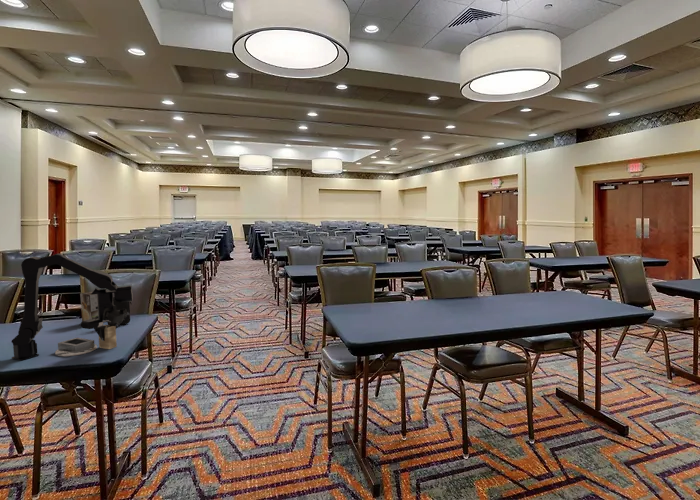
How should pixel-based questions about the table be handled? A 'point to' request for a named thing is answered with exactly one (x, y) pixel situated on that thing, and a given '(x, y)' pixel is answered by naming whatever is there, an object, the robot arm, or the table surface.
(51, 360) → the table surface
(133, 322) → the table surface
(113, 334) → the light wood block
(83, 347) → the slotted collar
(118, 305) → the carrying case or bag
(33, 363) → the table surface
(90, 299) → the coffee box
